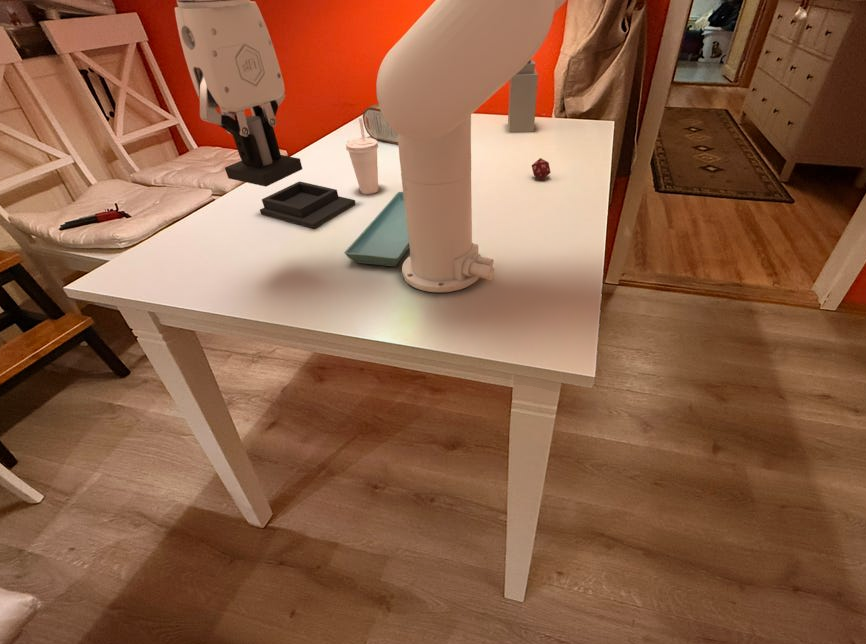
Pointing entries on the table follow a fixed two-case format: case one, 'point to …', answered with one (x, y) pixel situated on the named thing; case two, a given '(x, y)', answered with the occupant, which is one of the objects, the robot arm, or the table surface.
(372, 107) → the tin
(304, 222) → the base pad
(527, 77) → the perfume bottle
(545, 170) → the dice
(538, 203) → the table surface
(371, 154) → the smoothie
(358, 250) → the teal serving tray
